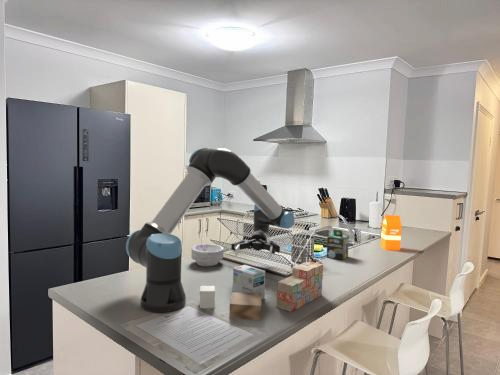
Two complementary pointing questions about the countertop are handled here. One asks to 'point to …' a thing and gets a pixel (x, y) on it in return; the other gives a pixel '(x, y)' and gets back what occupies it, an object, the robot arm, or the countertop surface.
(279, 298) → the stack of blocks
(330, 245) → the chalk box
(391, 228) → the orange juice
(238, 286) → the light bulb box
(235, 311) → the walnut block
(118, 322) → the countertop surface
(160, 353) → the countertop surface
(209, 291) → the off-white block
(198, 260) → the paper bowls
